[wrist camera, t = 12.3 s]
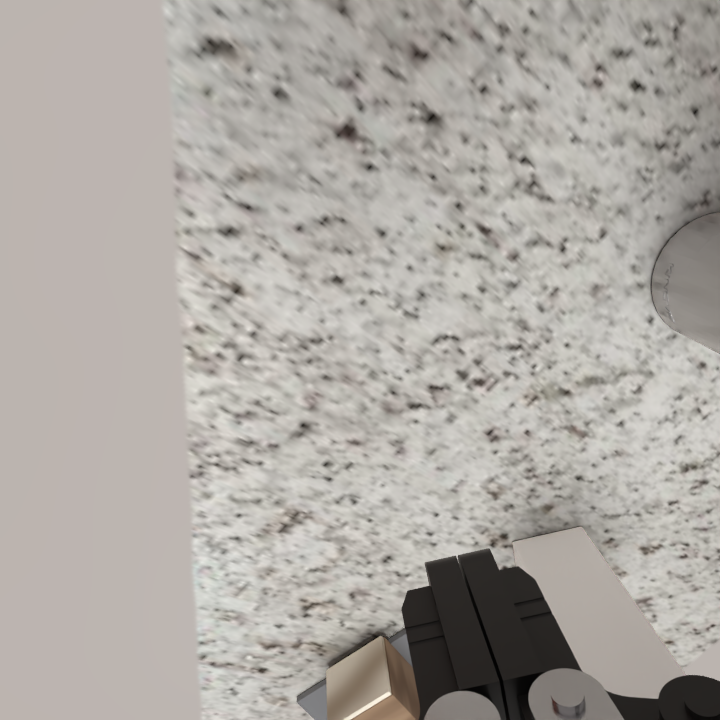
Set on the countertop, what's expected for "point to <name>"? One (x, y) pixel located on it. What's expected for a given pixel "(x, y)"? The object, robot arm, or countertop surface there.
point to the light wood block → (372, 685)
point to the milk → (597, 614)
